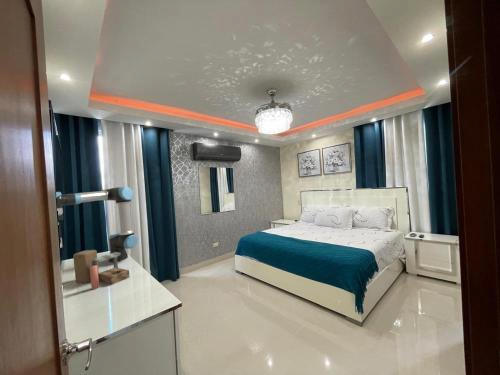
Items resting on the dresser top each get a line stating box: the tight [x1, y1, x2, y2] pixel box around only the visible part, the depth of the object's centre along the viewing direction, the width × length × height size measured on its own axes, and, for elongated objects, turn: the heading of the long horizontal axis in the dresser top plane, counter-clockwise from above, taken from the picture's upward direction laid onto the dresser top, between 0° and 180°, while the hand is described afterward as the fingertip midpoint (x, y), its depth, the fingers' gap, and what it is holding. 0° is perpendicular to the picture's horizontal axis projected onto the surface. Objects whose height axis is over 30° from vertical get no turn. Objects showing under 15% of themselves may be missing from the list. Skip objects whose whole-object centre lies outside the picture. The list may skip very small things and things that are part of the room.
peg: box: [90, 265, 100, 290], centre depth 142 cm, size 4×4×14 cm
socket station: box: [92, 252, 130, 285], centre depth 155 cm, size 16×19×16 cm
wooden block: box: [73, 249, 100, 284], centre depth 156 cm, size 10×10×20 cm
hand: (58, 246), depth 149 cm, fingers open, 13 cm apart
